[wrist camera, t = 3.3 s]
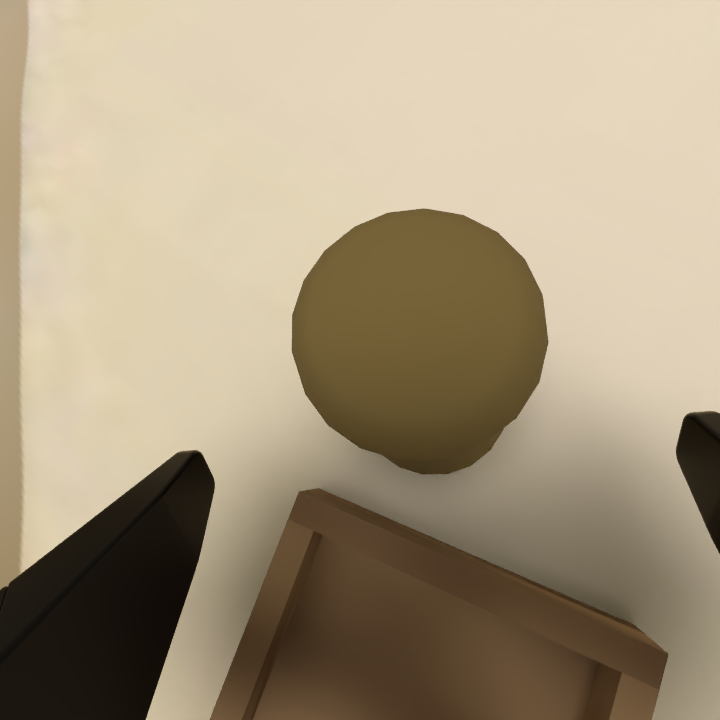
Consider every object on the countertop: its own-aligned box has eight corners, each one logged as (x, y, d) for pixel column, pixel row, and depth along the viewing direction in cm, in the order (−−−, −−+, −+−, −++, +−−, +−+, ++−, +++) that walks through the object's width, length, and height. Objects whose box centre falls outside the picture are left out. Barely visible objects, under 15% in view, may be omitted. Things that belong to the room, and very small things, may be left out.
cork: (332, 371, 20) (198, 261, 9) (457, 300, 19) (467, 99, 9) (402, 503, 18) (336, 556, 7) (540, 427, 18) (678, 367, 7)
